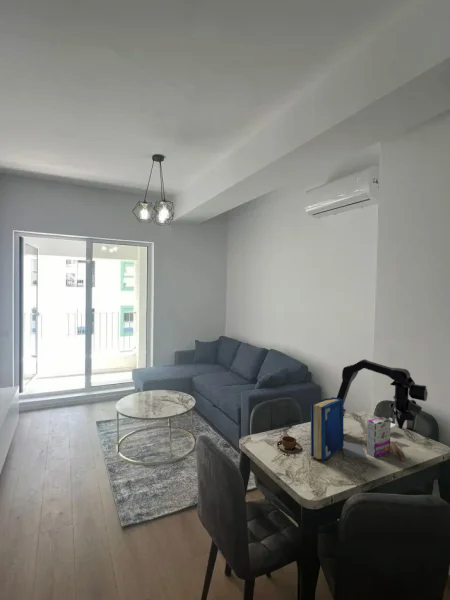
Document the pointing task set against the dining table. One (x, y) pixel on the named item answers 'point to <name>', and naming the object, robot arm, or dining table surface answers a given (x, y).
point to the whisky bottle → (397, 424)
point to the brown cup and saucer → (289, 444)
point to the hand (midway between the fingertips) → (400, 428)
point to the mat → (353, 450)
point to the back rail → (398, 452)
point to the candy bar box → (378, 436)
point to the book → (326, 427)
